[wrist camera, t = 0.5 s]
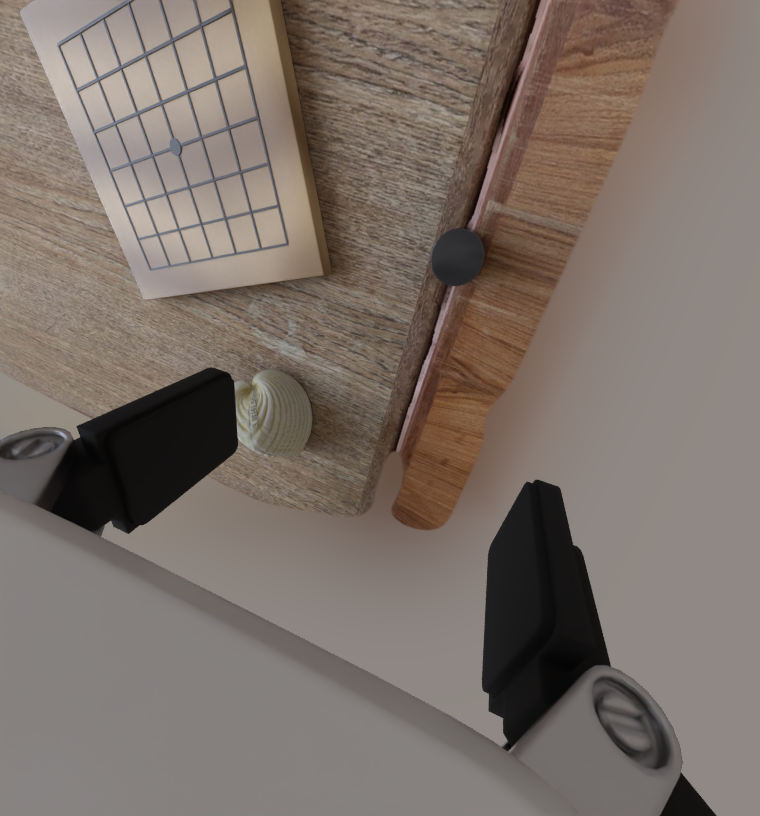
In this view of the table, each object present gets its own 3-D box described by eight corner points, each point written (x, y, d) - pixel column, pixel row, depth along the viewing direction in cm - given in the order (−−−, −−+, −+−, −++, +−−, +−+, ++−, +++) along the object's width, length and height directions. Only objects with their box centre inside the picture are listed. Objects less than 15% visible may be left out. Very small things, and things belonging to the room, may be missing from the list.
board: (42, 21, 24) (16, 9, 23) (257, -126, 17) (237, -156, 16) (157, 298, 33) (143, 300, 32) (332, 273, 26) (323, 275, 25)
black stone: (437, 233, 22) (428, 233, 20) (486, 225, 21) (484, 223, 19) (440, 282, 24) (432, 288, 21) (486, 277, 23) (484, 283, 20)
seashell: (279, 352, 28) (302, 440, 27) (312, 377, 37) (331, 445, 35) (195, 383, 29) (212, 470, 27) (247, 401, 37) (262, 468, 36)
